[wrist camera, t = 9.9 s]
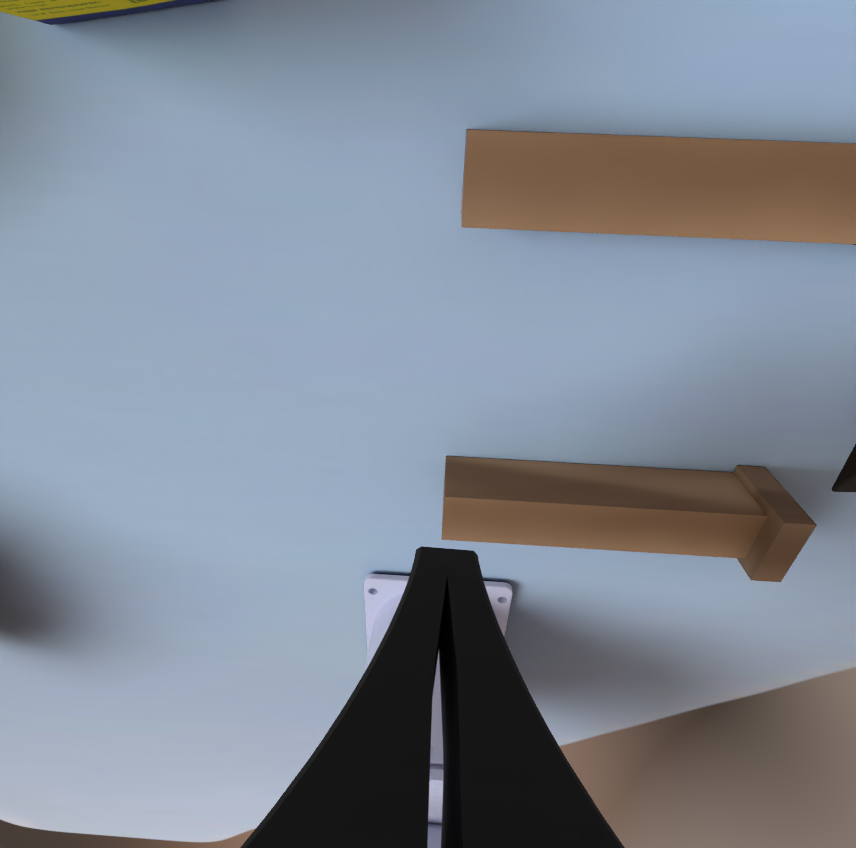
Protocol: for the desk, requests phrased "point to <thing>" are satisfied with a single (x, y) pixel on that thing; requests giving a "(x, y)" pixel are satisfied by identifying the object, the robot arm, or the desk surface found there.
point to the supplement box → (82, 8)
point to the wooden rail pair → (659, 216)
